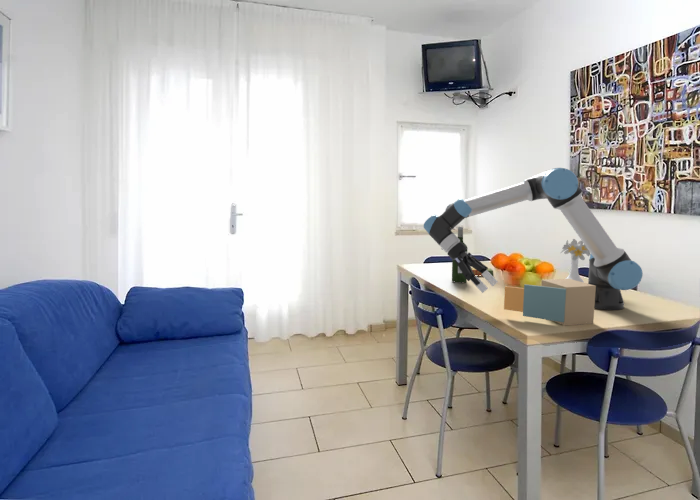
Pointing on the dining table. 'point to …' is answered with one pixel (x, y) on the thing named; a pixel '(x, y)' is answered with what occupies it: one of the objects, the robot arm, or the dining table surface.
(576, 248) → the flower vase
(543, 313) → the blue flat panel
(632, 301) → the dining table surface
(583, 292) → the kraft box
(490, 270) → the carton
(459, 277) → the wine bottle
